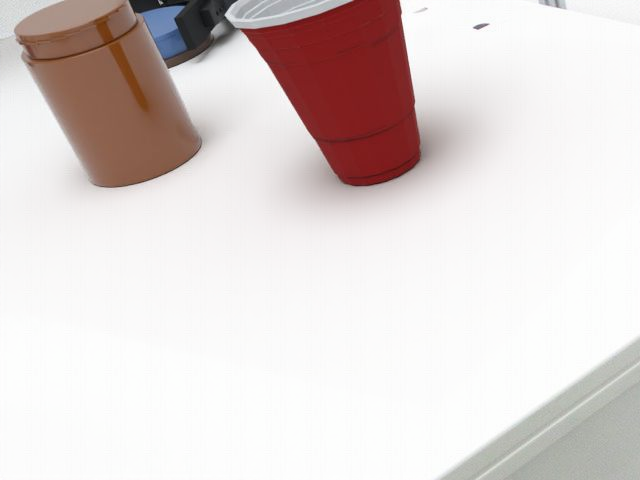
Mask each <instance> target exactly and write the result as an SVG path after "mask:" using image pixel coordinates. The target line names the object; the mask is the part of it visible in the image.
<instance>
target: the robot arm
mask: <svg viewBox="0 0 640 480" xmlns="http://www.w3.org/2000/svg"><path fill="white" fill-rule="evenodd" d="M129 1H130V3H131V5H132V7H133V10H134V12H135V13H138V14H140V13H143V12H147V11H150V10H154V9H159V8H164V7H171V6H185V7H184V8H183V9H182V10H181V11H180V12H179V14H178V15H177V16H176V17H175V18H174V21H175V23H176V25H177V27H178V29H179V32H180V34H181V36H182V38H183V40H184V43H185V45H186V47H187V49H188V50H194V49H197V48H198V46H199V45H200V44H201V43H202V42H203V40H204V39H205V38H206V37H207V36H208V34H209V33H210V32H211V33H212V31H213V30H214V29H215V28H216V27H217V25H218V24H220V23H221V22H222V21H223V20H225V19H226V20H228V19H227V18H226V16H225V14H226V12H227V11H228V9H229V8H230V7H231V5H232V4H234V3H235V2H237V1H238V0H129ZM160 2H161V3H160Z"/></svg>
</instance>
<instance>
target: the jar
mask: <svg viewBox="0 0 640 480" xmlns="http://www.w3.org/2000/svg"><path fill="white" fill-rule="evenodd" d="M13 33H14V36H15V42H16V43H17V44H19V46H20V47H21V48H22V52H21V55H20V59H21V61H22V63H23V64H24V66H25V68H26V70H27V71H28V73H29V75H30V77H31V79H32V80H33V83H34V84H35V86H36V88H37V89H38V91H39V93H40V95H41V97H42V98H43V101H44V102H45V104H46V106H47V108H48V110H49V111H50V113H51V115H52V116H53V118H54V120H55V122H56V123H57V126H58V127H59V129H60V131H61V133H62V134H63V136H64V138H65V140H66V142H67V143H68V145H69V147H70V149H71V150H72V152H73V155H74V156H75V158H76V159H77V161H78V163H79V165H80V166H81V168H82V171H83V172H84V173H85V175H86V177H87V179H88V180H89V182H90V183H91V184H93V185H95V186H98V187H104V188H116V187H125V186H131V185H134V184H139V183H142V182H145V181H149V180H151V179H154V178H158V177H159V176H162V175H164V174H167V173H169V172H170V171H173V170H175V169H176V168H178V167H180V166H181V165H184V164H185V163H186V162H187V161H189V160H190V159H191V158H193V157H194V155H196V153H198V151H199V150H200V149H201V146H202V137H201V135H200V134H199V132H198V130H197V127H196V125H195V123H194V120H193V119H192V116H191V115H190V113H189V110H188V108H187V106H186V104H185V102H184V100H183V98H182V95H181V94H180V91H179V89H178V88H177V85H176V83H175V81H174V78H173V76H172V75H171V72H170V70H169V68H167V66H166V64H165V61H164V59H163V57H162V55H161V53H160V51H159V49H158V47H157V44H156V42H155V40H154V38H153V36H152V34H151V32H150V30H149V27H148V25H147V23H146V21H145V19H144V17H143V16H142V15H141V14H138V13H135V12H134V10H133V7H132V5H131V3H130V1H129V0H62V1H61V0H60V1H58V2H56V3H53V4H50V5H48V6H45V7H43V8H41V9H39V10H37V11H35V12H32V13H31V14H29V15H28V16H25V18H23V19H22V20H20V21H19V22H18V23H16V24H15V27H14V28H13Z"/></svg>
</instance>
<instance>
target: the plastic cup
mask: <svg viewBox="0 0 640 480" xmlns="http://www.w3.org/2000/svg"><path fill="white" fill-rule="evenodd" d="M402 14H403V9H402V5H401V0H238V1H237V2H235V3H234V4H232V5H231V7H230V8H229V9H228V11H227V12H226V14H225V16H226V18H227V19H226V20H228V21H229V23H230V24H231V25H232V26H233V27H234V28H236V29H239V31H241V33H242V34H244V36H245V37H246V39H248V42H249V43H251V45H252V46H253V47H254V48H255V49H256V51H257V53H258V55H260V57H261V58H262V60H263V61H264V62H265V63H266V65H267V66H268V68H269V69H270V72H271V73H272V75H273V76H274V78H275V79H276V81H277V82H278V84H279V86H280V87H281V88H280V89H282V91H283V92H284V94H285V96H286V97H287V99H288V101H289V102H290V104H291V106H292V107H293V109H294V111H295V112H296V114H297V116H298V117H299V119H300V120H301V122H302V124H303V126H304V127H305V129H306V130H307V132H308V134H309V135H310V136H311V137H312V139H313V140H314V141H315V143H316V145H317V146H318V148H319V150H320V152H321V153H322V155H323V156H324V159H325V160H326V162H327V164H328V166H329V167H330V169H331V170H332V172H334V173H335V175H336V176H337V178H338V179H339V180H340V181H341V183H344V184H347V185H350V186H368V185H374V184H375V185H376V184H379V183H384V182H386V181H389V180H392V179H393V178H394V179H395V178H397V177H399V176H401V175H403V174H404V173H406V172H408V171H409V170H411V169H412V168H413V167H414V166H415V165H416V164H417V163H418V162H419V161H420V159H421V137H420V130H419V125H418V124H419V123H418V119H417V112H416V106H415V105H416V96H415V91H414V85H413V78H412V73H411V72H412V71H411V66H410V59H409V54H408V49H407V43H406V37H405V31H404V24H403V18H402Z"/></svg>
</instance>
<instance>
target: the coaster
mask: <svg viewBox="0 0 640 480" xmlns="http://www.w3.org/2000/svg"><path fill="white" fill-rule="evenodd" d="M213 39H214V36H213V33H212V31H211V32H210V33H209V34H208V36H207V37H206V38H205V39H204V40H203V42H202V43H201V44H200V45H199V46H198V48H197V49H194V50H188V49H187V50H186V51H184V52H182V53H180V54H177V55H175V56H173V57H170V58H168V59H165V60H164V61H165V64H166V66H167V68H168V69H170V68H173V67H176V66H178V65H180V64H183V63H185V62H187V61H189V60H191V59H192V58H194V57H196V56H198V55H199V54H201V53H202V52H203V51H205V50H206V49H207V48H208V47H209V46H210V45H211V44H212V42H213Z"/></svg>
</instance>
